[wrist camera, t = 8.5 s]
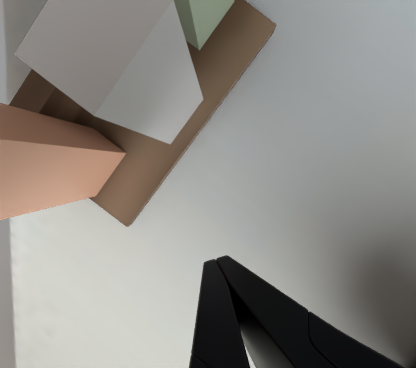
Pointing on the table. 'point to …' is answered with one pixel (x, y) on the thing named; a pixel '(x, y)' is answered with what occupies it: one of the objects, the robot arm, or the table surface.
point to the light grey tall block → (117, 61)
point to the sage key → (200, 18)
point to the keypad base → (147, 146)
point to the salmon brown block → (49, 161)
